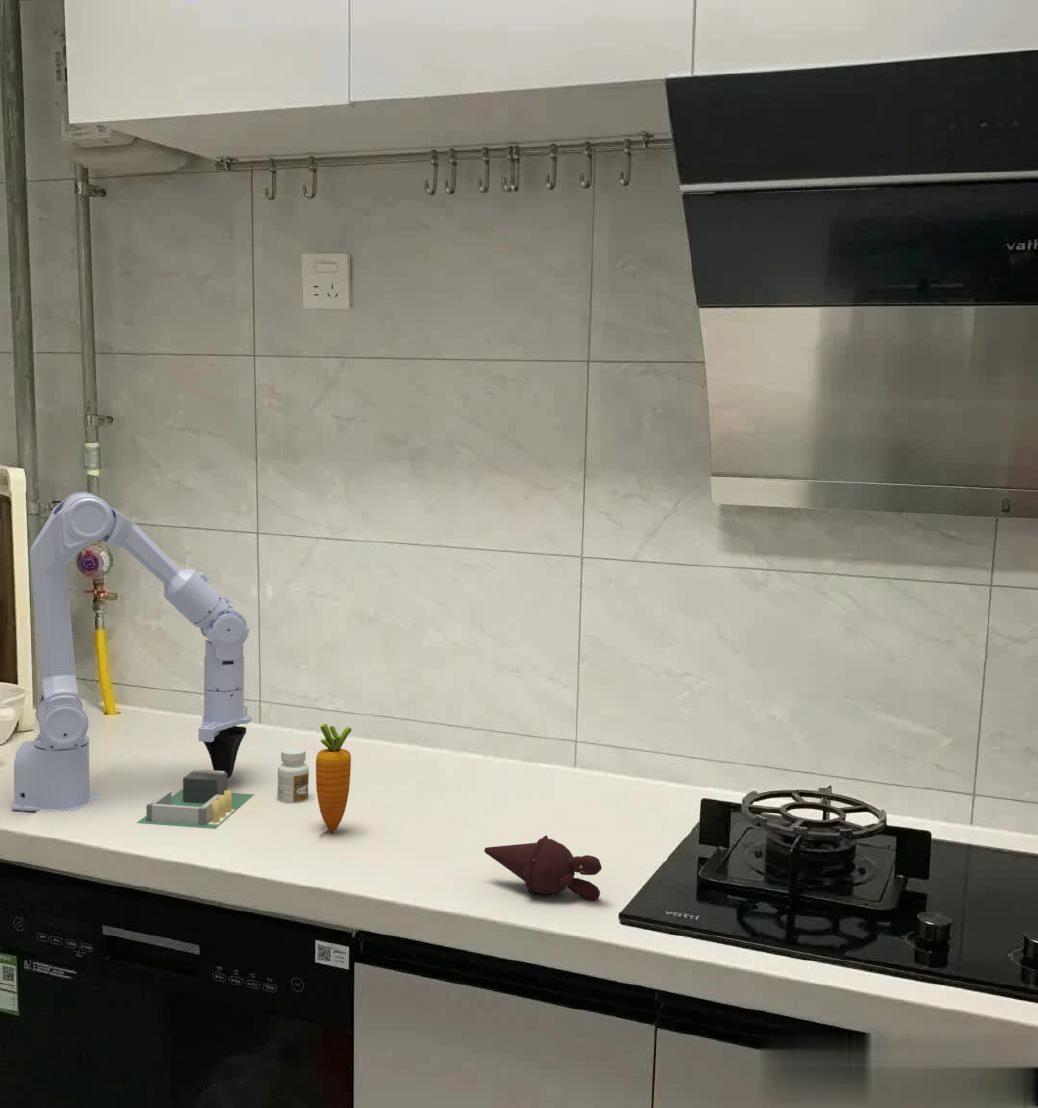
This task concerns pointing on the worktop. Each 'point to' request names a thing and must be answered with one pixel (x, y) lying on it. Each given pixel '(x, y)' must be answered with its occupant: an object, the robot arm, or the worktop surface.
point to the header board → (193, 810)
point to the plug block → (203, 785)
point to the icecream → (548, 867)
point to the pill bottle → (293, 776)
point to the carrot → (333, 777)
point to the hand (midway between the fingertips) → (223, 776)
